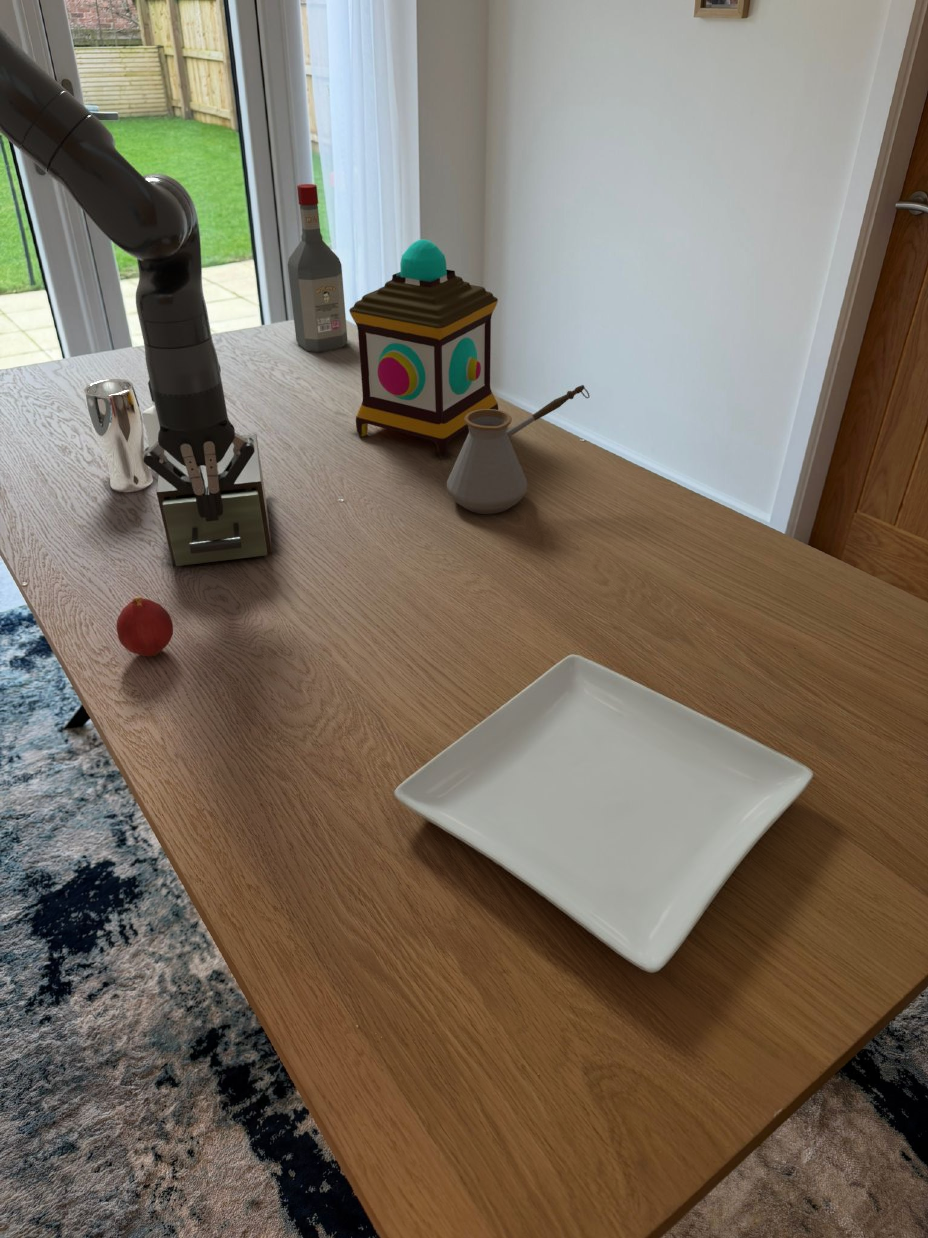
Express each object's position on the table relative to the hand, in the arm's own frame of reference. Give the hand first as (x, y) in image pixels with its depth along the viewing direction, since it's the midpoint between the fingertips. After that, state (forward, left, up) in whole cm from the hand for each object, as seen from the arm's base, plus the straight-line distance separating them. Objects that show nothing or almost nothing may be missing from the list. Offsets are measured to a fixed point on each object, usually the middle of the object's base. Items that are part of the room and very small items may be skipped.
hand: (212, 517), depth 108 cm
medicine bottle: (-6, +40, -9) cm, 42 cm away
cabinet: (0, +11, -8) cm, 14 cm away
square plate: (+33, -48, -9) cm, 59 cm away
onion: (-8, -15, -9) cm, 19 cm away
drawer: (0, +6, -8) cm, 10 cm away
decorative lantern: (+34, +38, -9) cm, 52 cm away
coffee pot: (+42, +12, -9) cm, 45 cm away
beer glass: (-13, +29, -9) cm, 33 cm away
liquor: (+21, +85, -9) cm, 88 cm away
